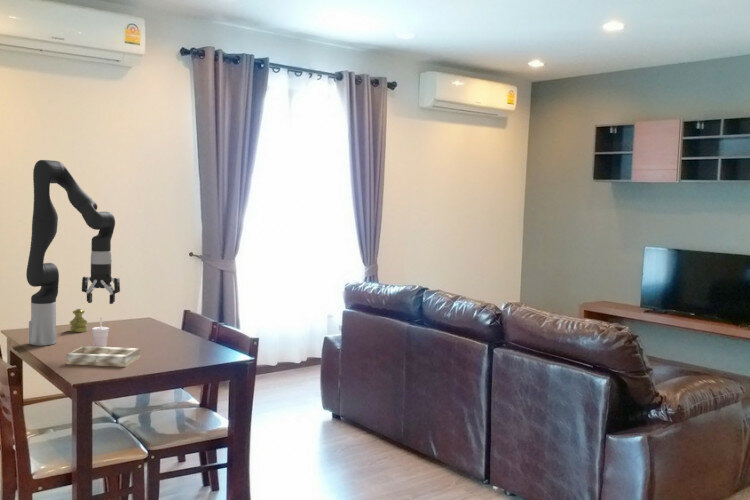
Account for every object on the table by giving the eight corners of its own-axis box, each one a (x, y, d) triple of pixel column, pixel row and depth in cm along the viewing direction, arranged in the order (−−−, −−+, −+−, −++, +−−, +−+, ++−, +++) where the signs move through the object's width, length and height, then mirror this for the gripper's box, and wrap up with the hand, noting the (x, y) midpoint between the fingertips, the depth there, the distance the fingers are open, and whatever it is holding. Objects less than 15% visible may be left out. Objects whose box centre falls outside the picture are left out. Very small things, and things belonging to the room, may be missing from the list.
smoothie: (92, 354, 263) (92, 319, 262) (90, 351, 268) (91, 316, 267) (109, 353, 266) (110, 318, 265) (108, 349, 271) (108, 315, 270)
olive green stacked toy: (75, 328, 309) (75, 307, 308) (90, 330, 308) (90, 308, 307) (65, 332, 301) (66, 309, 300) (81, 333, 300) (81, 311, 299)
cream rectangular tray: (66, 364, 247) (66, 354, 247) (83, 355, 261) (83, 345, 261) (125, 366, 247) (125, 356, 246) (139, 357, 261) (139, 348, 260)
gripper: (78, 262, 261) (78, 304, 262) (115, 264, 260) (114, 305, 262) (87, 260, 268) (87, 301, 269) (122, 262, 268) (122, 302, 269)
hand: (100, 303), depth 266 cm, fingers open, 8 cm apart
